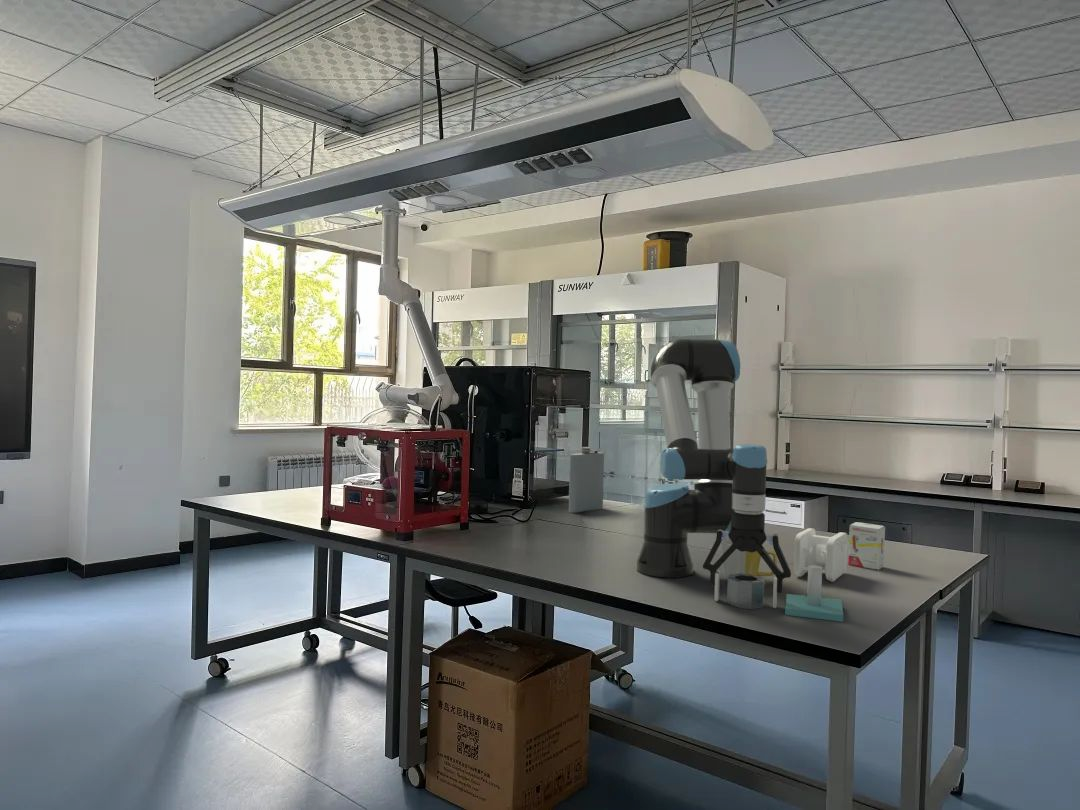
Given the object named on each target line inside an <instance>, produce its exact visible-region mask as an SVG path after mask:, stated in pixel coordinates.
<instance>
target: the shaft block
mask: <svg viewBox="0 0 1080 810" xmlns="http://www.w3.org/2000/svg"><path fill="white" fill-rule="evenodd" d="M822 583H823V573H822V567H821V566H816V565H809V566H808V572H807V590H806V591H807V592H806V593H807V594H806V595H803V594H802V595H801V594H792V593H786V600H785V608H784V609H785V610H784V614H785V616H792V617H794V616H795V617H801V618H808V619H809V618H810V619H815V620H817V619H818V620H826V621H833V622H834V621H835V622H842V623H843V622H844V611H843V602H842V599H835V598H827V597H822V587H823V586H822V585H823V584H822Z"/></svg>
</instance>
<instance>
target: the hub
mask: <svg viewBox="0 0 1080 810" xmlns="http://www.w3.org/2000/svg"><path fill="white" fill-rule="evenodd" d="M764 597H765V577H763V576H757V575H752V574H743V573H738V574H729V576H728V578H727V591H726V604H727V603H728V604H727V605H729V604H730V606H732V607H734V606H735V607H734V608H736V607H738V608H739V609H746V610H756V609H763V608H764V603H765V602H764V599H765V598H764ZM738 608H737V609H738Z"/></svg>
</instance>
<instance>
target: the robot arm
mask: <svg viewBox="0 0 1080 810" xmlns="http://www.w3.org/2000/svg"><path fill="white" fill-rule="evenodd" d="M740 358H741V357H740V354H739V349H737V346H736V345H735V344H734V342H732V341H730V340H724V339H723V340H722V339H718V338H715V339H695V338H694V339H692V338H689V339H688V338H687V339H686V338H678V339H673V340H672V341H669V342H668V343H666V344H665V345H663V346H662V347H661V348H660V349H659V350H658V352H657V353H656V354H655V356H654V358H653V360H652V363H651V367H650V378H651V382H652V385H653V387H655V388H656V391H657V398H658V403H659V409H660V414H661V420H662V425H663V432H664V436H665V438H664V439H665V442H666V448H664V449H663V450H662V451H661V455H660V472H661V474H662V477H664V478H665V479H669V480H679V481H683V480H696V481H695V482H694V484H693V485H694V487H693V488H694V489H690V487H689V485H688V484H685V483H667V484H665V483H664V484H660V485H659V484H658V485H655V486H652V487H649V488H648V489H647V490H646V491H645V494H644V503H643V504H644V505H643V507H644V522H643V523H644V524H643V527H644V528H643V543H642V546H641V549H640V551H639V554H638V557H637V559H636V571H638V572H639V573H641V574H643V575H647V576H651V577H656V578H657V577H658V578H675V579H676V578H683V577H688V576H691V575H693V573H694V562H693V559H692V556H691V552H690V549H689V545H688V534H692V533H693V534H716V537H715V541H714V543H713V546H712V547H711V549H710V551H709V553H708V554H707V557H706V558H705V561H704V562H703V564H702V568H703V570H708V571H709V573H710V576H709V577H710V578H709V582H710V583H709V585H710V586H714V598H713V599H714V602H718V601H719V600H720V584H721V583H720V578H721V575H720V574H721V571H720V570H718V569H719V568H720V567H721V566H722V565H723V564H724V562H725V560H726V559H727V558H728V557H729V556H730V555H731V554H732V553H733V552H734V551H735V550H736V549H738V550H739V551H742V552H744V551H748V552H752V553H754V552H756V551H757V552H758V553H759V555H760V556H761V558H762V559H763V561H764V563H766V565H767V566H768V568H769V569H770V570H771V572H773V573H774V575H775V576H773V584H772V585H773V586H772V587H773V588H772V589H773V590H772V592H773V593H772V609H777V603H778V594H782V592H783V580H784V579H787V578H791V576H792V571H791V569H790V566H789V564H788V561H787V560H786V557H785V555H784V553H783V550H782V547H781V545H780V542H779V540H780V539H779V535H778V534H777V533H774V534H766V532H765V526H766V525H765V524H766V523H765V521H766V520H765V519H766V514H765V513H764V512H765V511H766V496H767V495H766V494H767V493H766V488H767V483H766V482H767V464H768V457H767V448H766V447H765V446H764V445H761V444H760V445H759V444H745V443H743V444H736V445H734V446H733V447H732V446H731V429H730V427H731V424H730V400H729V399H730V398H729V395H730V394H729V393H730V391H731V390H732V389H733V387H735V385H734V384H735V383H734V382H736V381H738V380H739V379H740V375H741V359H740ZM686 381H690V382H691V383H690V384H691V389H693V391H694V392H696V395H697V397H696V400H697V427H698V428H697V431H698V433H697V435H698V441H697V437H696V432H695V427H694V423H693V418H692V412H691V409H690V408H691V407H690V404H689V399H688V393H687V389H686ZM731 447H732V448H731ZM727 538H730V540H731V541H732V543H733V544H732V545H731V546H730V547H729V548H728V549H727V550H726V552H725V553H724V554H723V553H722V555H721V556H720V557H719V558H718V559H717V560H716V561H715V562H714V563H713V564H711V563H712V561H713V558H714V557H715V555H716V553H717V551H718V550H719V547H720V545H721V544H722V540H725V539H727ZM766 541H768V542H769V543H768V544H769V545H771V546H772V547H773V550H774V552H775V553H776V556H777V559H778V560H777V561H778V562H779V565H780V566H781V569H782V570H781V569H780V568H779V566H778V565H776V564H775V563H774V559H772V557H771V556H770V554H768V553H767V552H766V551H767V550H766V548H765V547H764V543H765V542H766ZM762 544H763V546H762Z"/></svg>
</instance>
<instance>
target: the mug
mask: <svg viewBox="0 0 1080 810" xmlns="http://www.w3.org/2000/svg"><path fill="white" fill-rule="evenodd" d="M732 544H733V543H732V541H731V540H730V538H729V537H726V538H725V540H722V541H721V547H722V549H721V550H722V555H723V554H724V553H725V552H726V550H727V549H728V548H729V547H730V546H731V545H732ZM762 546H763V547H764V543H763V544H762ZM766 552H767V553H768V555H772V558H773V559H772V560H773V561H774V563H775V564H776V565H777V564H778V560H777V559H778V557H777V555H776V553H775V550H774V551H773V550H766ZM761 558H762V557H761V556H760V555H759V553H758V552H757V551H756V552H754V553H752V552H748V551H744V552H742V551H739V550H738V549H736V550H735V551H734V552H733V553H732V554H731V555H730V556H729V557H728V558H727V559H726V560H725V562H724V563H723V564H724V570H725V571H724V572H725V576H726V578H727V579H728V576H729V574H738V573H743V574H752V575H757V576H759V577H771V576H773V577H774V575H775V574H774V573H773V572H772V571H771V572H763V571H762V572H760V571H759V568H760V563H761ZM777 566H778V565H777Z"/></svg>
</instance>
